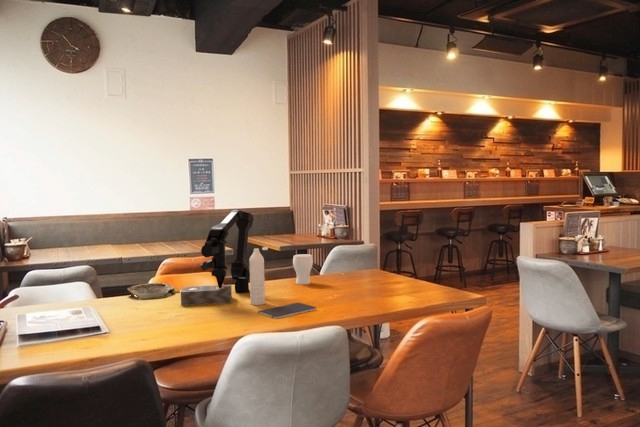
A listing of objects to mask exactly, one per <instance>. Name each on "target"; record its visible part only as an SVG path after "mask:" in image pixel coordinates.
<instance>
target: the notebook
mask: <svg viewBox="0 0 640 427" xmlns="http://www.w3.org/2000/svg"><path fill="white" fill-rule="evenodd" d="M316 308H317V307H316V306H312V305H308V304H306V303H302V302H294V303H288V304H284V305H280V306H276V307H271V308H270V307H269V308H266V309H265V308H264V309H260V310H258V312H257V313H258V314H260V315H263V316H266V317H270V318H272V319H276V320H277V319H282V318H286V317H290V316H291V317H292V316H295V315H300V314H303V313H309V312H313V311H316ZM308 311H309V312H308ZM299 313H300V314H299Z"/></svg>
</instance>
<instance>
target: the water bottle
mask: <svg viewBox="0 0 640 427" xmlns="http://www.w3.org/2000/svg"><path fill="white" fill-rule="evenodd" d="M261 249H262V251H268V249H269V247H268V246H267V247H266V246H265V247H264V246H263V247H261ZM248 260H249V261H248V262H249V263H248V264H249V270H250V280H249V293H250V298H249V299H250V302H249V303H250V305H251V306H262V305H265V304H266V291H265V288H266V286H265V285H266V284H265V282H266V281H265V259H264V256H263V255H262V254H261V252H260V248H257V247H256V248H253V252H252V254H251V255H250V257H249V259H248Z"/></svg>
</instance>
